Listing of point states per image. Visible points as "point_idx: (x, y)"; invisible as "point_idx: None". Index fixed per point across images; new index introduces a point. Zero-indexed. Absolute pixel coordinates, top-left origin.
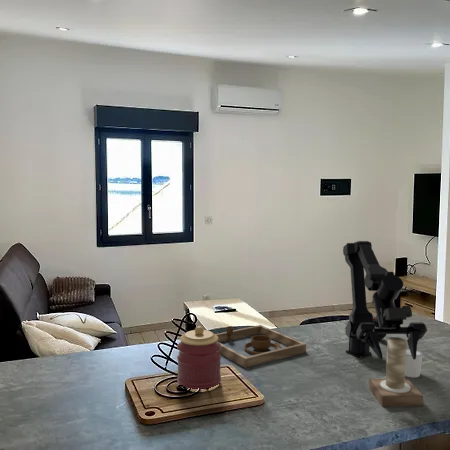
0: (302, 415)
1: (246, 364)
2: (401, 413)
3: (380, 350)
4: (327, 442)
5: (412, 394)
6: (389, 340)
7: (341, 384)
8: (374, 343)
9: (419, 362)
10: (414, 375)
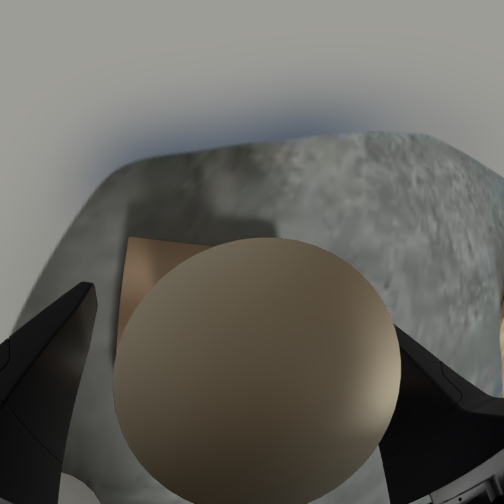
0: (463, 243)
1: None
2: (239, 209)
3: (399, 338)
4: (427, 140)
5: (168, 251)
6: (390, 368)
7: None
8: (458, 378)
9: None
10: (61, 475)
